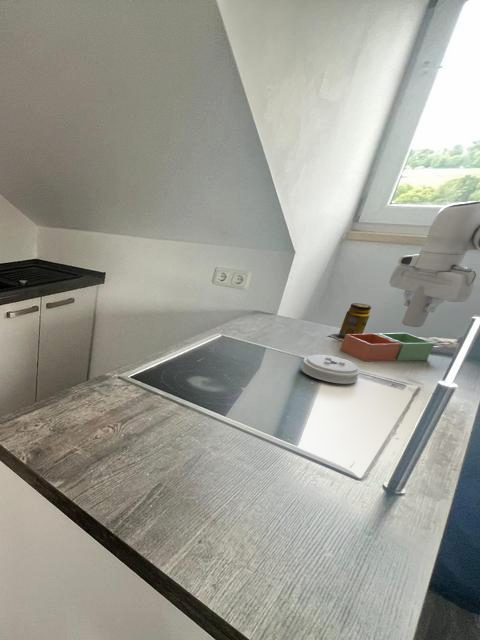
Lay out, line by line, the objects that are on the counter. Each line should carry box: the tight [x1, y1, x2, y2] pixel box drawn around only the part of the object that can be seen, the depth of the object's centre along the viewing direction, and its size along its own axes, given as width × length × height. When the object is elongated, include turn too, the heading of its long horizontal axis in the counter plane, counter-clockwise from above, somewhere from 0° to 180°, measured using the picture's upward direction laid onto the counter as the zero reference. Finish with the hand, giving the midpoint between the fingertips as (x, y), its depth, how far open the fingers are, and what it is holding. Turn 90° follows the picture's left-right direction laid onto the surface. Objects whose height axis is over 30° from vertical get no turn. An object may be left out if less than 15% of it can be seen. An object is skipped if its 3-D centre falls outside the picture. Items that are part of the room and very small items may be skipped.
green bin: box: [376, 332, 435, 362], centre depth 122 cm, size 9×9×6 cm
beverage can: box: [401, 286, 433, 328], centre depth 116 cm, size 5×5×12 cm
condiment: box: [328, 302, 372, 342], centre depth 134 cm, size 7×8×12 cm
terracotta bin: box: [339, 332, 401, 362], centre depth 122 cm, size 9×9×6 cm
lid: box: [300, 354, 362, 384], centre depth 109 cm, size 13×13×5 cm
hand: (417, 308), depth 117 cm, fingers closed on beverage can, 5 cm apart
